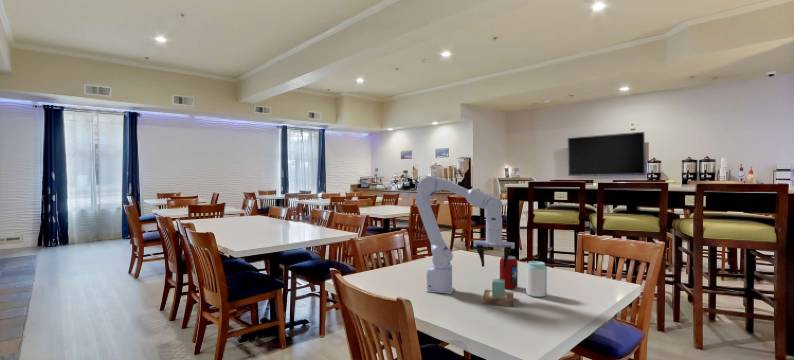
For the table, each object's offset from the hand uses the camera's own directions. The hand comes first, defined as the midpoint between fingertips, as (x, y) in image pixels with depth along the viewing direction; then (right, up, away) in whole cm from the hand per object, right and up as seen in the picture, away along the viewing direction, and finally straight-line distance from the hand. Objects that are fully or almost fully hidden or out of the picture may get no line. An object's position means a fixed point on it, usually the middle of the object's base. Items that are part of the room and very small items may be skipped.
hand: (493, 266), depth 141 cm
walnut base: (0, -10, -6) cm, 12 cm away
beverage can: (+8, -11, +10) cm, 17 cm away
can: (+16, -11, 0) cm, 19 cm away
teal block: (0, -8, -7) cm, 11 cm away
